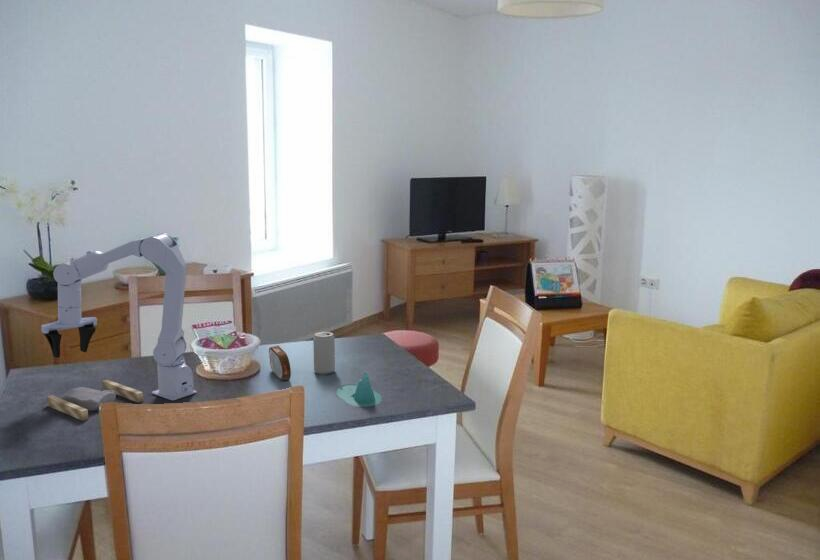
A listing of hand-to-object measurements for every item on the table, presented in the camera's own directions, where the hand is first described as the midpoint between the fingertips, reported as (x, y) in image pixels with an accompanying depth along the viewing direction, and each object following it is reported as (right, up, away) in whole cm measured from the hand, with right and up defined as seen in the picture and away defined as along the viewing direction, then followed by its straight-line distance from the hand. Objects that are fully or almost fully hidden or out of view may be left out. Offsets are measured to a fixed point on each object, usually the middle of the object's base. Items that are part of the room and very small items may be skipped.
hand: (70, 354), depth 190 cm
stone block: (+8, -13, -5) cm, 16 cm away
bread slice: (+54, -9, +17) cm, 58 cm away
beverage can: (+67, -8, +22) cm, 71 cm away
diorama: (+79, -12, +2) cm, 80 cm away
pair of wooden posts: (+10, -13, -6) cm, 17 cm away
